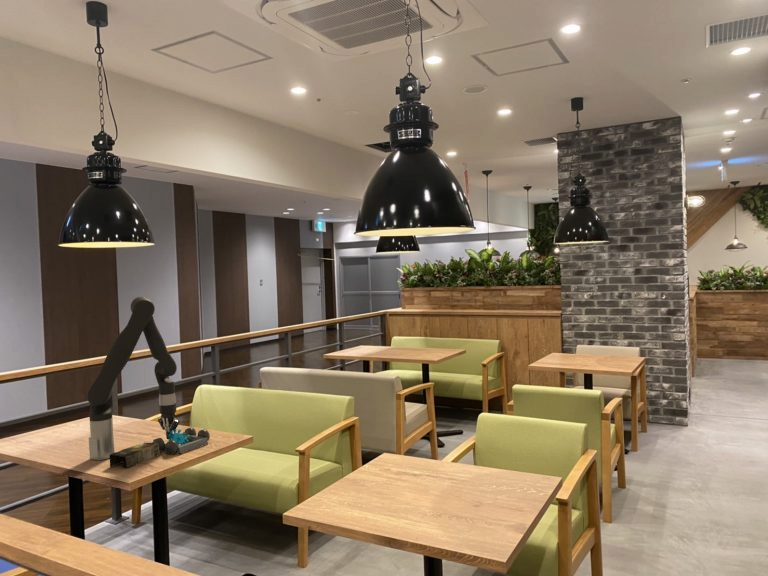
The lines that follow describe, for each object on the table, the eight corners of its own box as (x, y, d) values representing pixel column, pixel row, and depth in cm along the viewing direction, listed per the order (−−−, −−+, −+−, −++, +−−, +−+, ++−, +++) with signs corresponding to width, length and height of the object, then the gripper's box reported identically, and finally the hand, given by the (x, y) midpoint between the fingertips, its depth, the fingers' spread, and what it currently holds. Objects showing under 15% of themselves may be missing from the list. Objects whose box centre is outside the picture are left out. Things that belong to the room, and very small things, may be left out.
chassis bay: (176, 455, 258) (175, 442, 258) (152, 451, 266) (152, 438, 265) (211, 442, 275) (210, 430, 275) (188, 438, 283) (187, 426, 283)
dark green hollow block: (145, 452, 265) (145, 439, 264) (162, 455, 261) (161, 441, 260) (109, 468, 246) (108, 453, 246) (126, 470, 242) (125, 456, 242)
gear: (173, 447, 264) (165, 429, 269) (167, 455, 267) (160, 437, 271) (194, 444, 273) (186, 426, 278) (188, 451, 275) (180, 434, 280)
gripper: (151, 403, 274) (153, 439, 275) (170, 405, 268) (172, 442, 269) (164, 399, 281) (166, 435, 282) (183, 402, 274) (185, 438, 275)
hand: (169, 438), depth 275 cm, fingers closed
